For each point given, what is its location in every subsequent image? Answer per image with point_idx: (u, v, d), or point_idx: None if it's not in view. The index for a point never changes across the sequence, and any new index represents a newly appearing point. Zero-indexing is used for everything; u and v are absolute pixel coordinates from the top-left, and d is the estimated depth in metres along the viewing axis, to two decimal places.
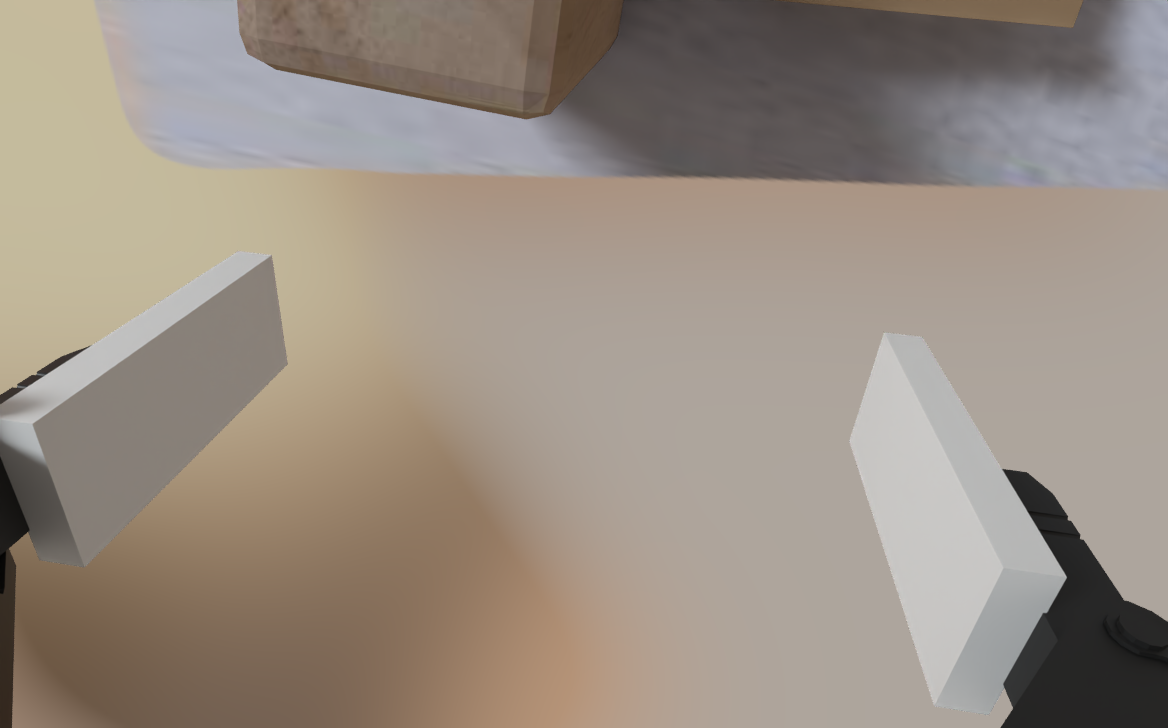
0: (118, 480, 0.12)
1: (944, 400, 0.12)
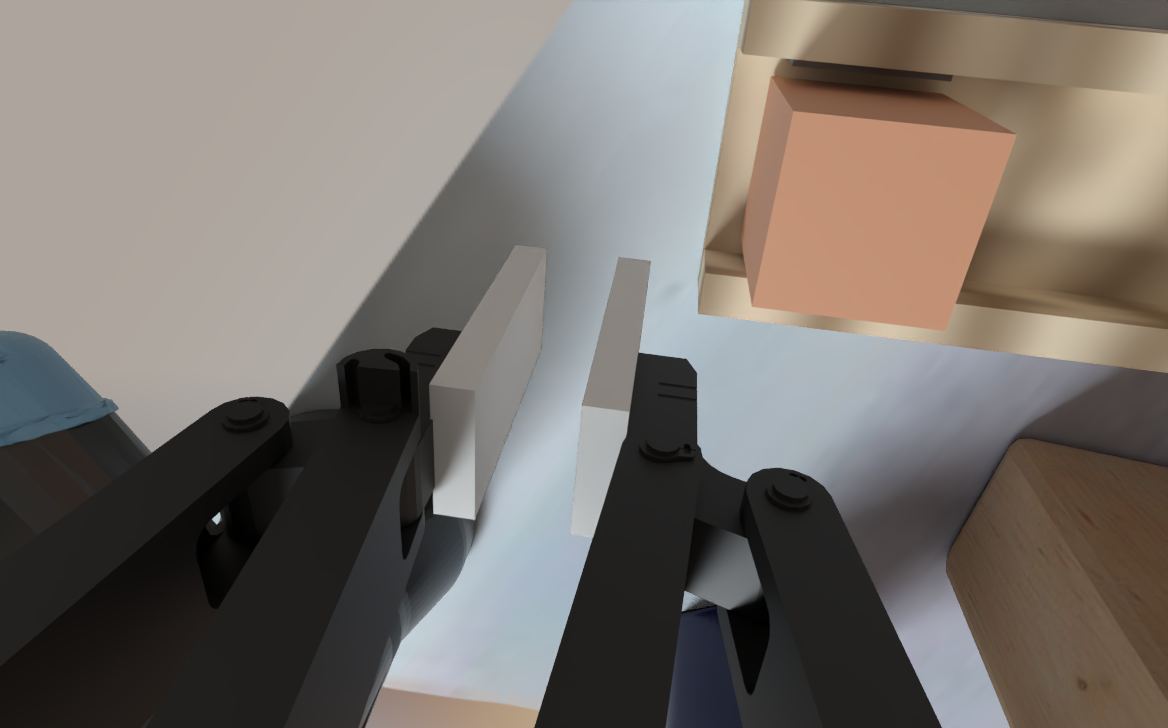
0: (490, 445, 0.13)
1: (630, 303, 0.15)
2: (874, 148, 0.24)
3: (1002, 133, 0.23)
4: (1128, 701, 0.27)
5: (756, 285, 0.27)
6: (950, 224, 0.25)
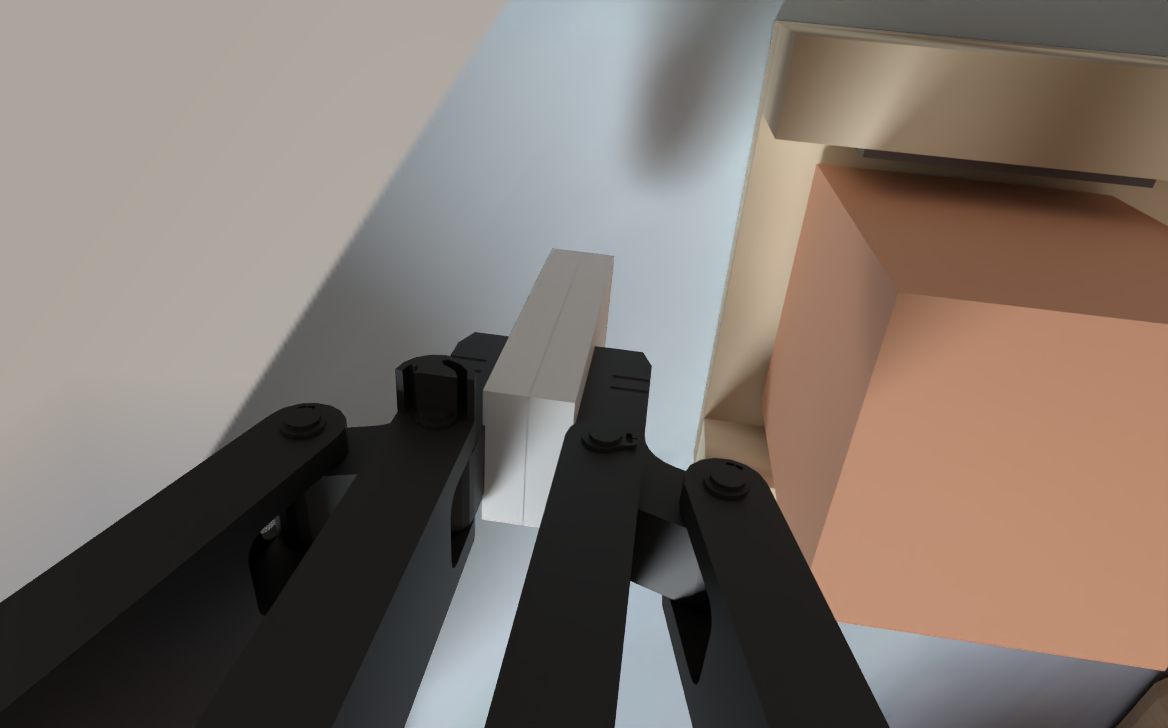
0: None
1: (588, 297, 0.15)
2: (1068, 366, 0.11)
3: None
4: None
5: None
6: None
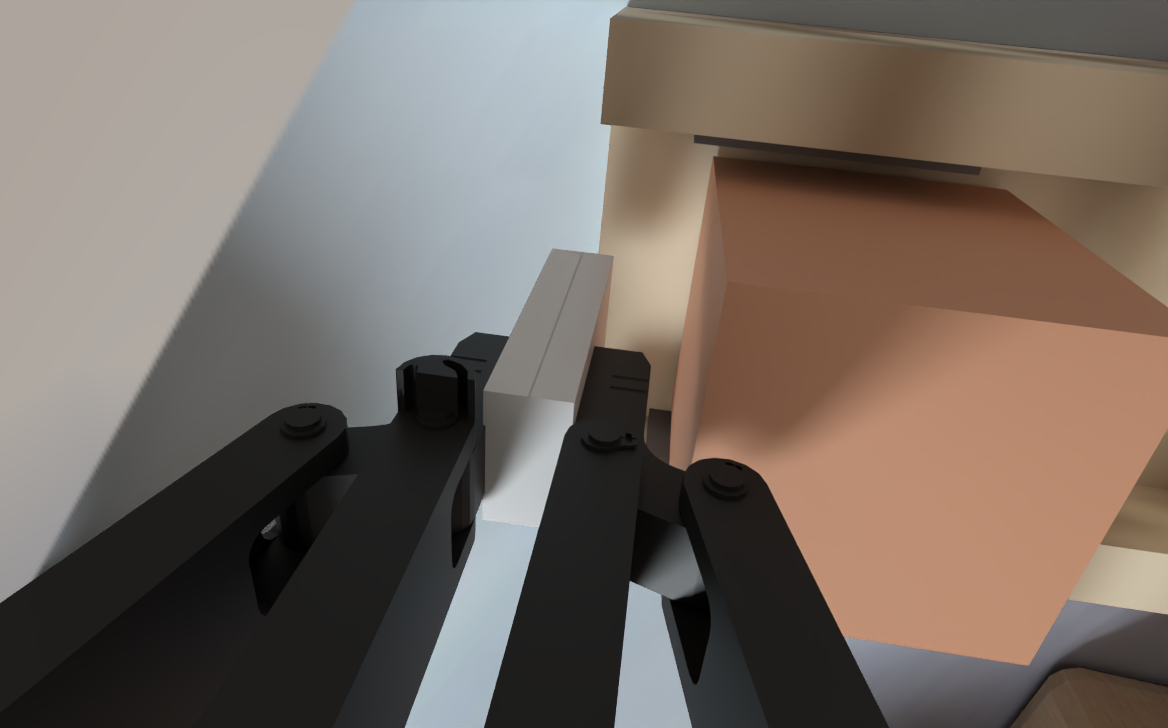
0: None
1: (588, 297, 0.15)
2: (901, 358, 0.11)
3: None
4: None
5: None
6: (1053, 500, 0.12)
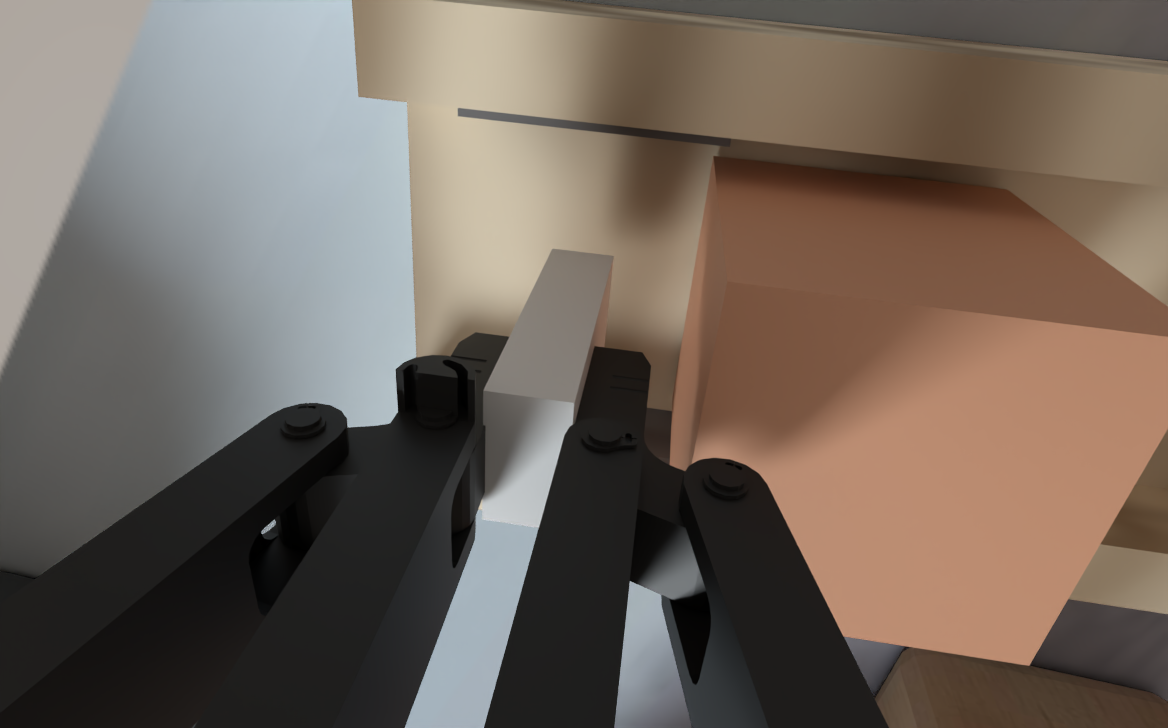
0: None
1: (588, 297, 0.15)
2: (902, 357, 0.11)
3: None
4: None
5: None
6: (1054, 500, 0.12)
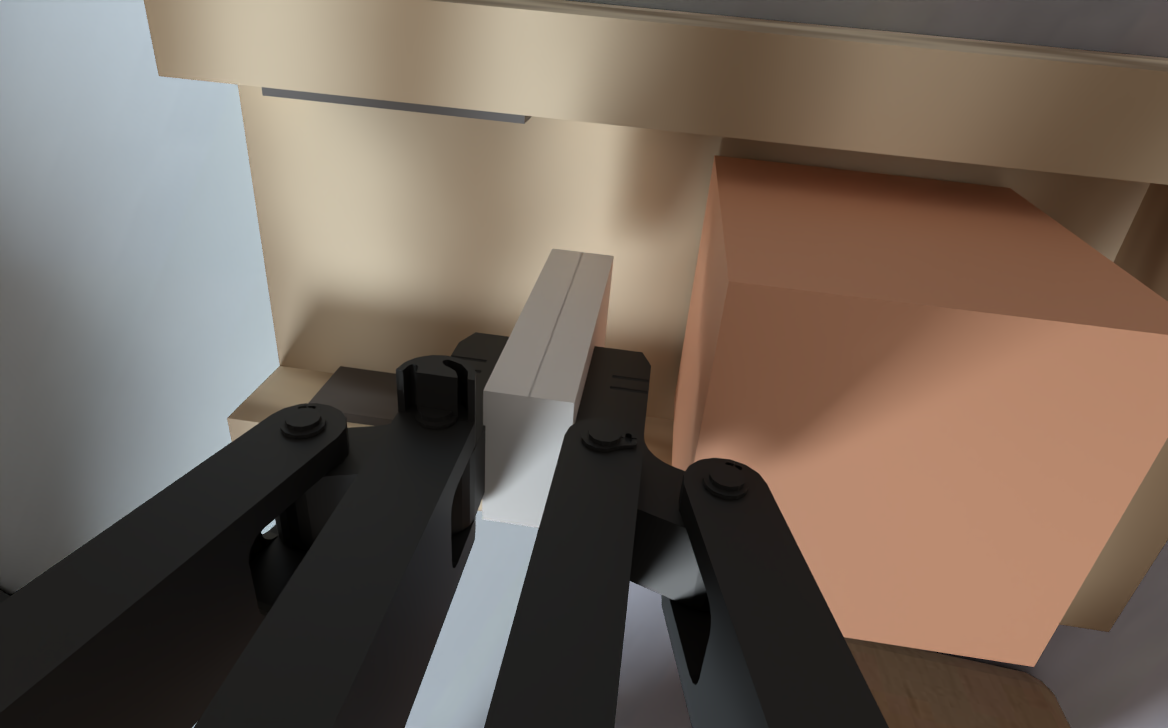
0: None
1: (588, 297, 0.15)
2: (904, 357, 0.11)
3: None
4: None
5: None
6: (1058, 499, 0.12)
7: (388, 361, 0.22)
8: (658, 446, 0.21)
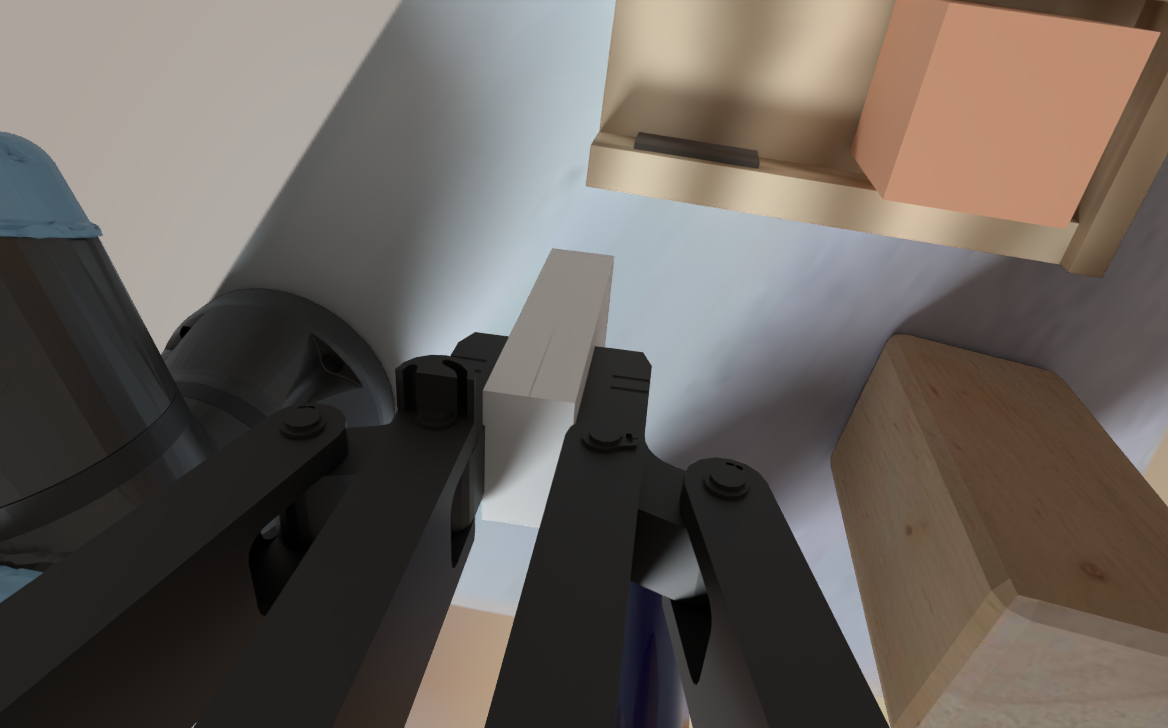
0: None
1: (588, 297, 0.15)
2: (1022, 42, 0.25)
3: (1146, 31, 0.25)
4: (937, 533, 0.29)
5: (890, 178, 0.28)
6: (1085, 121, 0.26)
7: (670, 128, 0.36)
8: (841, 177, 0.35)
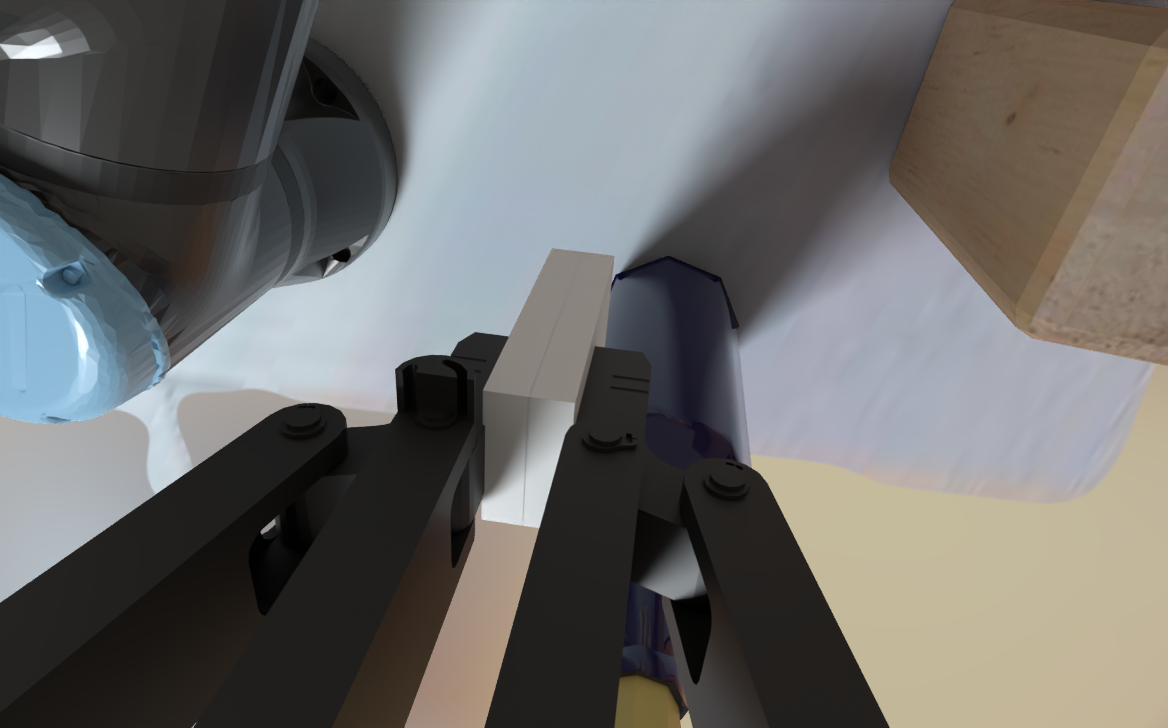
0: None
1: (588, 297, 0.15)
2: None
3: None
4: (1054, 79, 0.24)
5: None
6: None
7: None
8: None
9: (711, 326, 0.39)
